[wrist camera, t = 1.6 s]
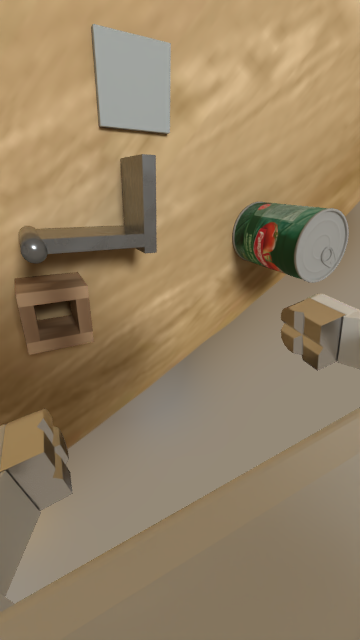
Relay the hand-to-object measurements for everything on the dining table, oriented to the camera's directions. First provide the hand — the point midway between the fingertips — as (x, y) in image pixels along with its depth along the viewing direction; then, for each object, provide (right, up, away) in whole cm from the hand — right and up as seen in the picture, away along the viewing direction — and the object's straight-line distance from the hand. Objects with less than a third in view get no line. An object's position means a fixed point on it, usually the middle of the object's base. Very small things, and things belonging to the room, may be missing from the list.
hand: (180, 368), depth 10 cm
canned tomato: (+10, +14, +31) cm, 36 cm away
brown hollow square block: (-14, +3, +22) cm, 26 cm away
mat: (-4, +23, +18) cm, 30 cm away
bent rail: (-10, +13, +20) cm, 26 cm away
